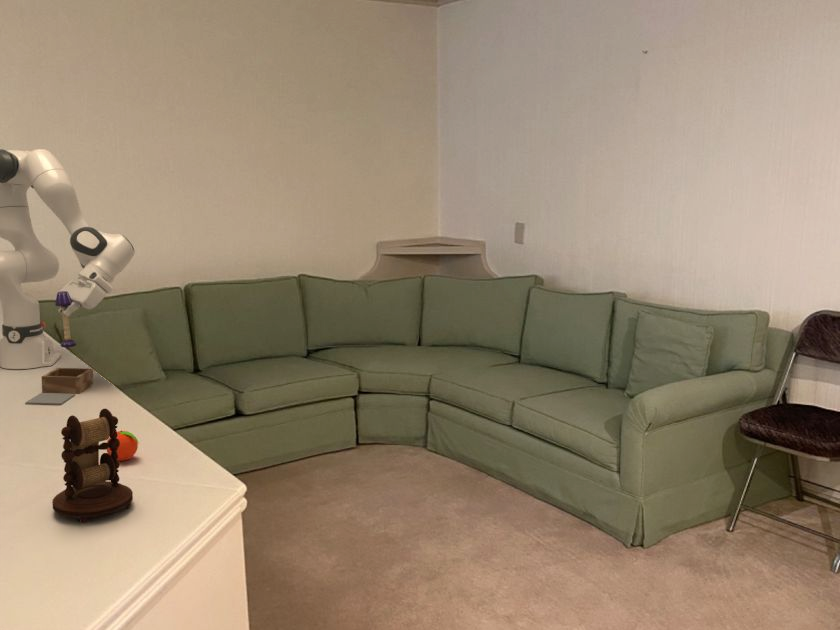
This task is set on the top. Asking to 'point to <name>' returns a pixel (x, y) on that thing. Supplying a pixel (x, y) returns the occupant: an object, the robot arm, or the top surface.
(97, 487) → the brown wooden spool rack
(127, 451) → the clementine
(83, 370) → the walnut crate
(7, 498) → the top surface
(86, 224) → the robot arm
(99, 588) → the top surface
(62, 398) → the slate mat
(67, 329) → the toy lamp
